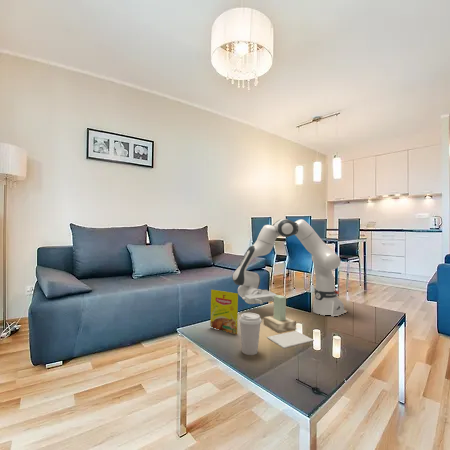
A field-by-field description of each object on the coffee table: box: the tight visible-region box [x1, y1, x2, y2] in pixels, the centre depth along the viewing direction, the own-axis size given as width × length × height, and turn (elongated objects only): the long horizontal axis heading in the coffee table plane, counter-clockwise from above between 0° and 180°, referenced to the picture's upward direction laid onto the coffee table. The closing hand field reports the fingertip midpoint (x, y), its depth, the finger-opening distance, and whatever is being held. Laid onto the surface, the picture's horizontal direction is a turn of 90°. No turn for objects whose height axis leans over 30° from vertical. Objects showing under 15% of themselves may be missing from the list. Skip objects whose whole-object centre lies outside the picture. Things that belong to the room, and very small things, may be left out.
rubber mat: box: [266, 330, 315, 349], centre depth 123 cm, size 18×12×1 cm, turn 118°
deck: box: [263, 315, 297, 333], centre depth 139 cm, size 12×12×4 cm
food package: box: [209, 289, 239, 335], centre depth 131 cm, size 15×1×20 cm, turn 62°
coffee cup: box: [238, 312, 263, 356], centre depth 110 cm, size 10×10×15 cm
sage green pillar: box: [273, 294, 287, 321], centre depth 139 cm, size 4×5×12 cm
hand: (269, 301), depth 147 cm, fingers open, 8 cm apart
